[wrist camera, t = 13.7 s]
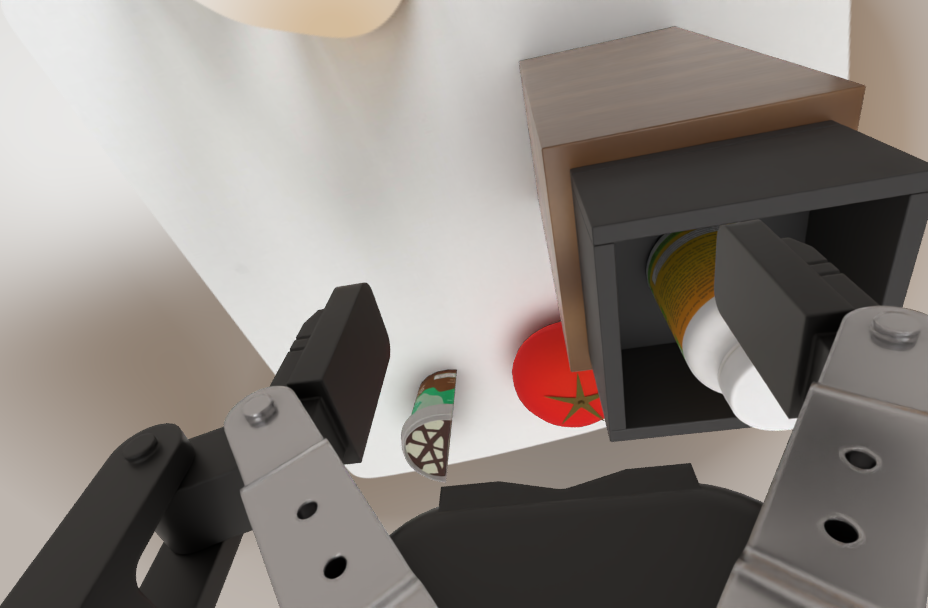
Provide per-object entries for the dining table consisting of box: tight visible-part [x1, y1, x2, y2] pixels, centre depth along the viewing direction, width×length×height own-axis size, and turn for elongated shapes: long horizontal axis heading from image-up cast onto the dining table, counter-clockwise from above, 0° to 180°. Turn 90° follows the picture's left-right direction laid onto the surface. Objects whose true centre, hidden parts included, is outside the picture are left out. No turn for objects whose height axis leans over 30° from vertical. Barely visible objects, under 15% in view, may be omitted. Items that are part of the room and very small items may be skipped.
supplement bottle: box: [646, 222, 797, 431], centre depth 22 cm, size 5×5×10 cm
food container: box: [401, 370, 457, 482], centre depth 67 cm, size 12×6×10 cm, turn 175°
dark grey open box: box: [570, 120, 928, 442], centre depth 24 cm, size 12×12×7 cm
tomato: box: [512, 322, 604, 427], centre depth 61 cm, size 14×13×10 cm
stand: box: [519, 26, 866, 372], centre depth 39 cm, size 14×14×28 cm
